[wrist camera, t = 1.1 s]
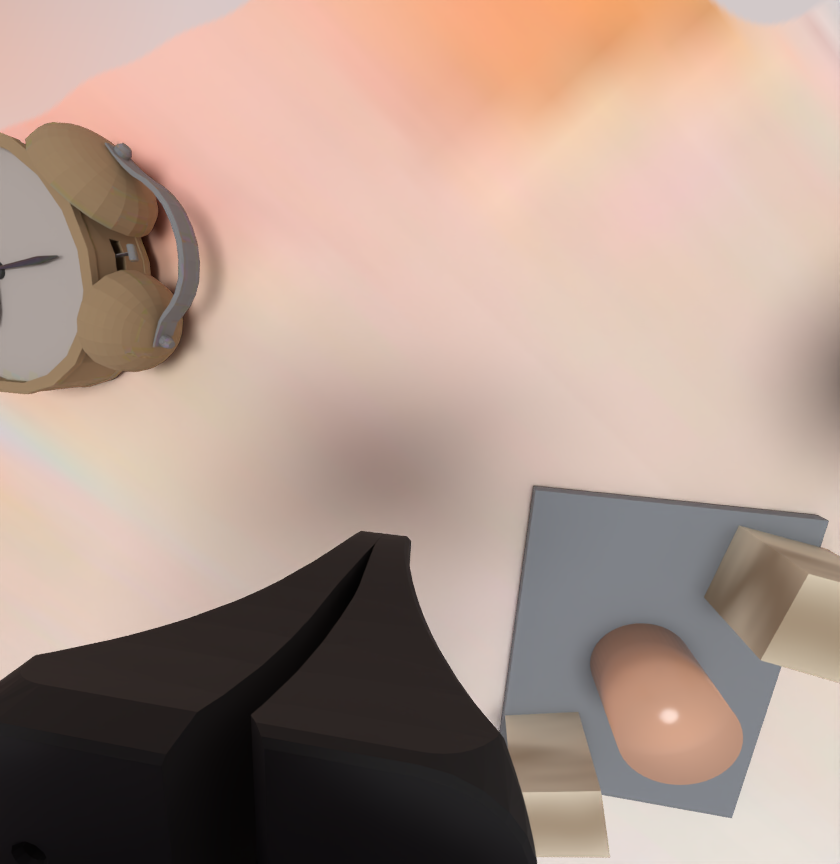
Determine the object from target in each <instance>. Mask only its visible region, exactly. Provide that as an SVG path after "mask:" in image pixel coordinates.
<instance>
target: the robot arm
mask: <svg viewBox="0 0 840 864" xmlns="http://www.w3.org/2000/svg"><path fill="white" fill-rule="evenodd" d="M410 551H411V541H410V539H409V538H408V537H406V536H398V535H390V534H382V533H373V532H365V531H360V532H359V533H357V534H355V535H354V536H352V537H350V538H349V539H347V540H346V541H344V542H343V543H341V544H340V545H338V546H337V547H335V548H334V549H332V550H331V551H329V552H328V553H326V554H324V555H323V556H321V557H320V558H318V559H317V560H315V561H313V562H312V563H310V564H308V565H307V566H305V567H303V568H301V569H300V570H298V571H296V572H294V573H292V574H291V575H289V576H287V577H285V578H284V579H282V580H280V581H278V582H276V583H274V584H272V585H270V586H268V587H266V588H264V589H262V590H260V591H257V592H255V593H253V594H251V595H248V596H246V597H244V598H242V599H239V600H237V601H234V602H232V603H229V604H226V605H224V606H221V607H218V608H215V609H213V610H210V611H207V612H204V613H202V614H199V615H196V616H194V617H191V618H188V619H185V620H182V621H178V622H175V623H172V624H168V625H165V626H162V627H158V628H155V629H151V630H147V631H144V632H140V633H136V634H133V635H129V636H125V637H120V638H116V639H112V640H108V641H103V642H98V643H94V644H89V645H84V646H79V647H75V648H70V649H65V650H60V651H56V652H51V653H45V654H40V655H35V656H34V657H32V658H31V659H30V660H28V661H27V662H25V663H24V664H23V665H21V666H20V667H19V668H17V669H16V670H14V671H13V672H12V673H10V674H9V675H8V676H6V677H5V678H4V679H2V680H1V681H0V864H537V859H536V851H535V845H534V840H533V835H532V831H531V826H530V822H529V817H528V813H527V809H526V805H525V801H524V798H523V794H522V791H521V787H520V784H519V781H518V778H517V774H516V771H515V768H514V765H513V762H512V759H511V756H510V753H509V750H508V748H507V745H506V742H505V739H504V737H503V736H502V735H501V734H500V733H499V731H498V730H497V729H496V728H495V727H494V726H493V724H492V723H491V722H490V721H489V720H488V719H487V717H486V716H485V715H484V714H483V713H482V712H481V710H480V709H479V708H478V707H477V705H476V704H475V703H474V702H473V700H472V699H471V697H470V696H469V695H468V693H467V692H466V690H465V689H464V688H463V686H462V685H461V683H460V682H459V681H458V679H457V678H456V676H455V674H454V673H453V671H452V669H451V668H450V666H449V664H448V663H447V661H446V659H445V658H444V656H443V655H442V653H441V651H440V650H439V648H438V646H437V644H436V642H435V640H434V638H433V636H432V634H431V632H430V630H429V627H428V625H427V623H426V620H425V618H424V616H423V613H422V610H421V608H420V605H419V602H418V599H417V595H416V592H415V589H414V585H413V581H412V576H411V571H410Z"/></svg>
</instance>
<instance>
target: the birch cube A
mask: <svg viewBox="0 0 840 864" xmlns="http://www.w3.org/2000/svg"><path fill="white" fill-rule="evenodd" d="M505 720H506V732H507V743H508V750H509V753H510V756H511V759H512V762H513V765H514V768H515V771H516V774H517V778H518V781H519V784H520V787H521V791H522V794H523V798H524V801H525V805H526V809H527V813H528V817H529V822H530V826H531V831H532V835H533V840H534V845H535V851H536V857H598V858H610V854H609V846H608V839H607V831H606V824H605V816H604V809H603V802H602V794H601V789H600V786H599V782H598V779H597V775H596V772H595V768H594V765H593V761H592V758H591V754H590V751H589V747H588V744H587V740H586V737H585V733H584V730H583V726H582V723H581V719H580V716H579V712H566V713H545V714H525V715H505Z"/></svg>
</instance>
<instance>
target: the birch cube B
mask: <svg viewBox="0 0 840 864" xmlns="http://www.w3.org/2000/svg"><path fill="white" fill-rule="evenodd" d="M704 598H705V599H706V600H707V601H708V602H709V604H710V605H711V606H712V607H713V608H714V609H715V610H716V611H717V612H718V614H719V615H720V616H721V617H722V618H723V619H724V620H725V621H726V622H727V624H728V625H729V626H730V627H731V628H732V629H733V630H734V631H735V632H736V634H737V635H738V636H739V637H740V638H741V639H742V640H743V641H744V642H745V644H746V645H747V646H748V647H749V648H750V649H751V650H752V651H753V652H754V654H755V655H756V656H757V657H758V658H759V659H760V660H761V661H765V662H768V663H772V664H775V665H779V666H782V667H785V668H789V669H792V670H796V671H799V672H803V673H806V674H810V675H813V676H817V677H820V678H823V679H827V680H830V681H834V682H837V683H840V556H838V555H837V554H835V553H833V552H831V551H830V550H828V549H825V548H821V547H818V546H814V545H810V544H806V543H803V542H799V541H795V540H792V539H788V538H784V537H780V536H777V535H773V534H769V533H766V532H762V531H758V530H754V529H751V528H747V527H743V526H740V525H739V527H738V529H737V531H736V533H735V535H734V537H733V539H732V541H731V543H730V545H729V547H728V549H727V551H726V553H725V555H724V557H723V559H722V561H721V563H720V565H719V567H718V570H717V572H716V574H715V576H714V578H713V580H712V582H711V584H710V586H709V588H708V590H707V592H706V594H705V596H704Z"/></svg>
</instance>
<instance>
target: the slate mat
mask: <svg viewBox="0 0 840 864" xmlns="http://www.w3.org/2000/svg"><path fill="white" fill-rule="evenodd" d="M828 522H829V521H828V520H826V519H824V518H822V517H820V516H818V515H811V514H801V513H792V512H782V511H772V510H763V509H753V508H743V507H734V506H724V505H714V504H704V503H695V502H685V501H675V500H666V499H656V498H646V497H637V496H627V495H617V494H608V493H598V492H588V491H578V490H569V489H559V488H549V487H540V486H534V488H533V495H532V502H531V509H530V517H529V524H528V531H527V538H526V546H525V553H524V560H523V567H522V575H521V582H520V589H519V596H518V604H517V611H516V618H515V625H514V632H513V640H512V647H511V654H510V661H509V669H508V676H507V683H506V690H505V698H504V705H503V712H502V719H501V726H500V734H501V735H502V736H503V737H504V739H505V742H506V745H507V748H508V743H507V732H506V720H505V715H525V714H545V713H566V712H579V716H580V719H581V723H582V726H583V730H584V733H585V737H586V740H587V744H588V747H589V751H590V754H591V758H592V761H593V765H594V768H595V772H596V775H597V779H598V782H599V786H600V789H601V794H602V795H606V796H612V797H617V798H623V799H629V800H634V801H640V802H645V803H651V804H656V805H662V806H667V807H673V808H678V809H684V810H689V811H695V812H701V813H706V814H712V815H717V816H723V817H728V818H732V816H733V813H734V810H735V807H736V803H737V800H738V797H739V794H740V791H741V788H742V785H743V782H744V779H745V776H746V773H747V770H748V767H749V764H750V761H751V758H752V755H753V751H754V748H755V745H756V742H757V739H758V736H759V733H760V730H761V727H762V724H763V721H764V718H765V715H766V712H767V709H768V706H769V703H770V699H771V696H772V693H773V690H774V687H775V684H776V681H777V678H778V675H779V672H780V669H781V666H779V665H775V664H772V663H768V662H765V661H761V660H760V659H759V658H758V657H757V656H756V655H755V654H754V652H753V651H752V650H751V649H750V648H749V647H748V646H747V645H746V644H745V642H744V641H743V640H742V639H741V638H740V637H739V636H738V635H737V634H736V632H735V631H734V630H733V629H732V628H731V627H730V626H729V625H728V624H727V622H726V621H725V620H724V619H723V618H722V617H721V616H720V615H719V614H718V612H717V611H716V610H715V609H714V608H713V607H712V606H711V605H710V604H709V602H708V601H707V600H706V599H705V598H704V596H705V594H706V592H707V590H708V588H709V586H710V584H711V582H712V580H713V578H714V576H715V574H716V572H717V570H718V567H719V565H720V563H721V561H722V559H723V557H724V555H725V553H726V551H727V549H728V547H729V545H730V543H731V541H732V539H733V537H734V535H735V533H736V531H737V529H738V527H739V525H740V526H743V527H747V528H751V529H754V530H758V531H762V532H766V533H769V534H773V535H777V536H780V537H784V538H788V539H792V540H795V541H799V542H803V543H806V544H810V545H814V546H818V547H820V546H821V543H822V540H823V537H824V534H825V531H826V528H827V525H828ZM637 623H645V624H653V625H657V626H661V627H663V628H666V629H668V630H670V631H672V632H673V633H675V634H676V635H677V636H679V637H680V638H681V639H682V640H683V641H684V643H685V644H686V645H687V647H688V648H689V650H690V651H691V653H692V654H693V655H694V657H695V658H696V660H697V661H698V663H699V664H700V665H701V667H702V668H703V670H704V671H705V673H706V674H707V675H708V677H709V678H710V680H711V681H712V683H713V684H714V685H715V687H716V688H717V690H718V691H719V692H720V694H721V695H722V697H723V698H724V700H725V701H726V702H727V704H728V705H729V707H730V708H731V710H732V711H733V712H734V714H735V715H736V717H737V718H738V720H739V722H740V724H741V728H742V732H743V744H742V749H741V751H740V754H739V756H738V757H737V759H736V760H735V762H734V763H733V764H732V765H731V766H730V767H729V768H728V769H727V770H726V771H724V772H723V773H721V774H720V775H718V776H716V777H714V778H712V779H710V780H707V781H704V782H700V783H696V784H689V785H672V784H665V783H661V782H657V781H654V780H651V779H649V778H647V777H644V776H643V775H641V774H639V773H638V772H636V771H635V770H634V769H632V768H631V767H630V766H629V765H628V764H627V763H626V761H625V760H624V759H623V757H622V756H621V754H620V752H619V749H618V746H617V744H616V741H615V738H614V735H613V732H612V730H611V727H610V724H609V721H608V719H607V716H606V713H605V710H604V707H603V705H602V702H601V699H600V696H599V693H598V691H597V688H596V685H595V682H594V679H593V677H592V674H591V669H590V658H591V655H592V652H593V649H594V647H595V646H596V644H597V643H598V642H599V641H600V639H601V638H602V637H604V636H605V635H606V634H607V633H609V632H610V631H612V630H614V629H616V628H619V627H622V626H625V625H629V624H637Z"/></svg>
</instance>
